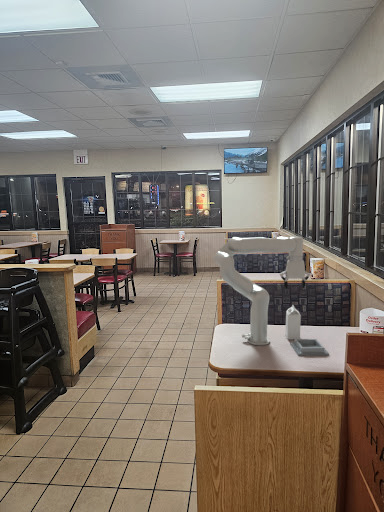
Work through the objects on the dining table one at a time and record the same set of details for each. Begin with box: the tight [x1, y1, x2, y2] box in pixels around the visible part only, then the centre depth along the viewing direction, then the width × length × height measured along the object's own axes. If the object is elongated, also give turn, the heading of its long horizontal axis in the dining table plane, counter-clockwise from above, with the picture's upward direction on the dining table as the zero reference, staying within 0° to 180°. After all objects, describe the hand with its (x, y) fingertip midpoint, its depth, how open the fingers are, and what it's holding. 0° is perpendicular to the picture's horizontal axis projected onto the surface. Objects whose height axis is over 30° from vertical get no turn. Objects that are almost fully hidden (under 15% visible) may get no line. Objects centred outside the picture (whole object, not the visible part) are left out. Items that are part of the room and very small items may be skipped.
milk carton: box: [285, 304, 302, 341], centre depth 207 cm, size 7×7×19 cm
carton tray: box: [289, 338, 330, 357], centre depth 192 cm, size 16×15×4 cm
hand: (294, 287), depth 204 cm, fingers open, 9 cm apart
